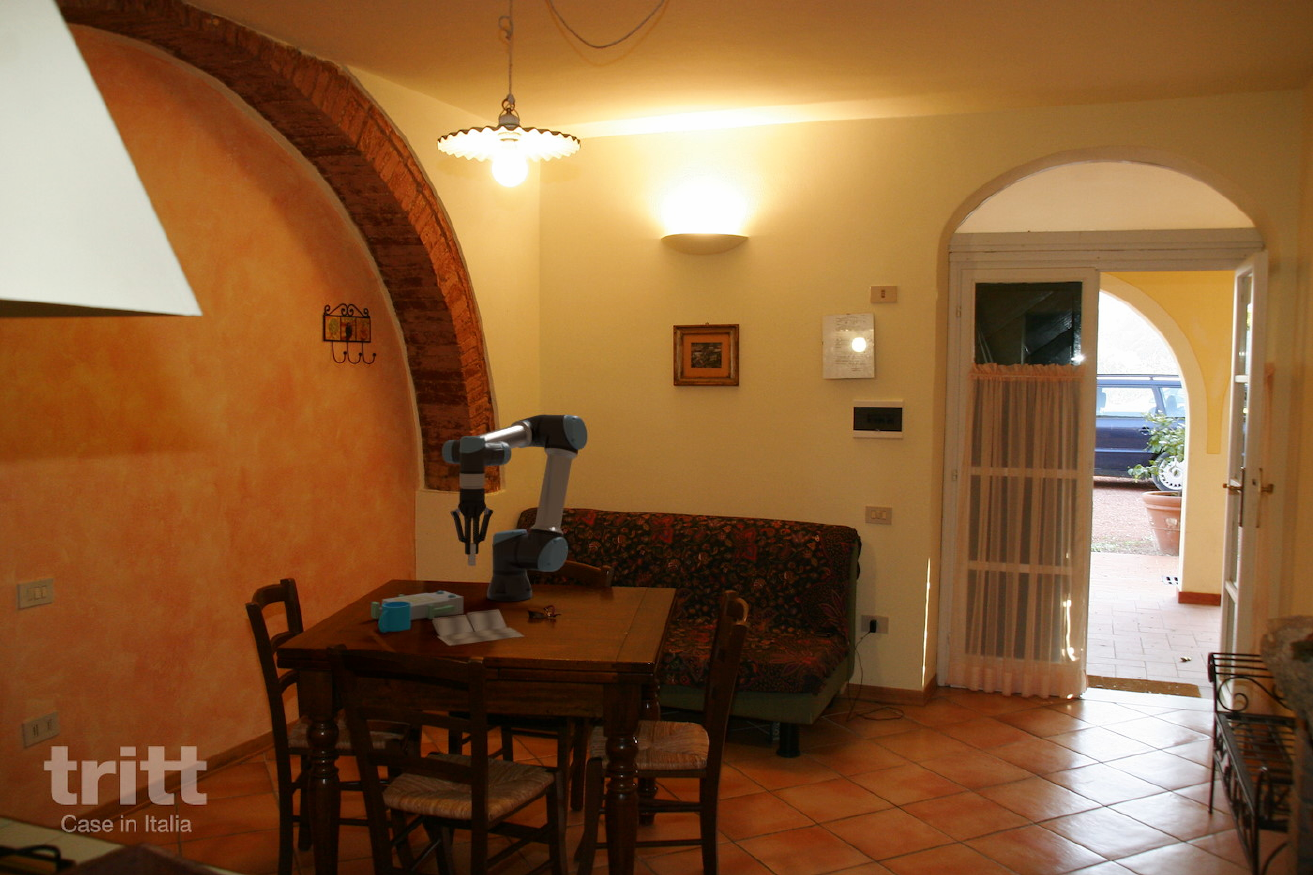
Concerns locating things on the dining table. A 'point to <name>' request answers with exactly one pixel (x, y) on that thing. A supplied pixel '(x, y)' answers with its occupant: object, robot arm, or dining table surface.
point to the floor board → (479, 636)
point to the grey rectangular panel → (486, 620)
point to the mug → (395, 616)
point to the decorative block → (425, 605)
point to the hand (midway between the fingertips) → (471, 565)
